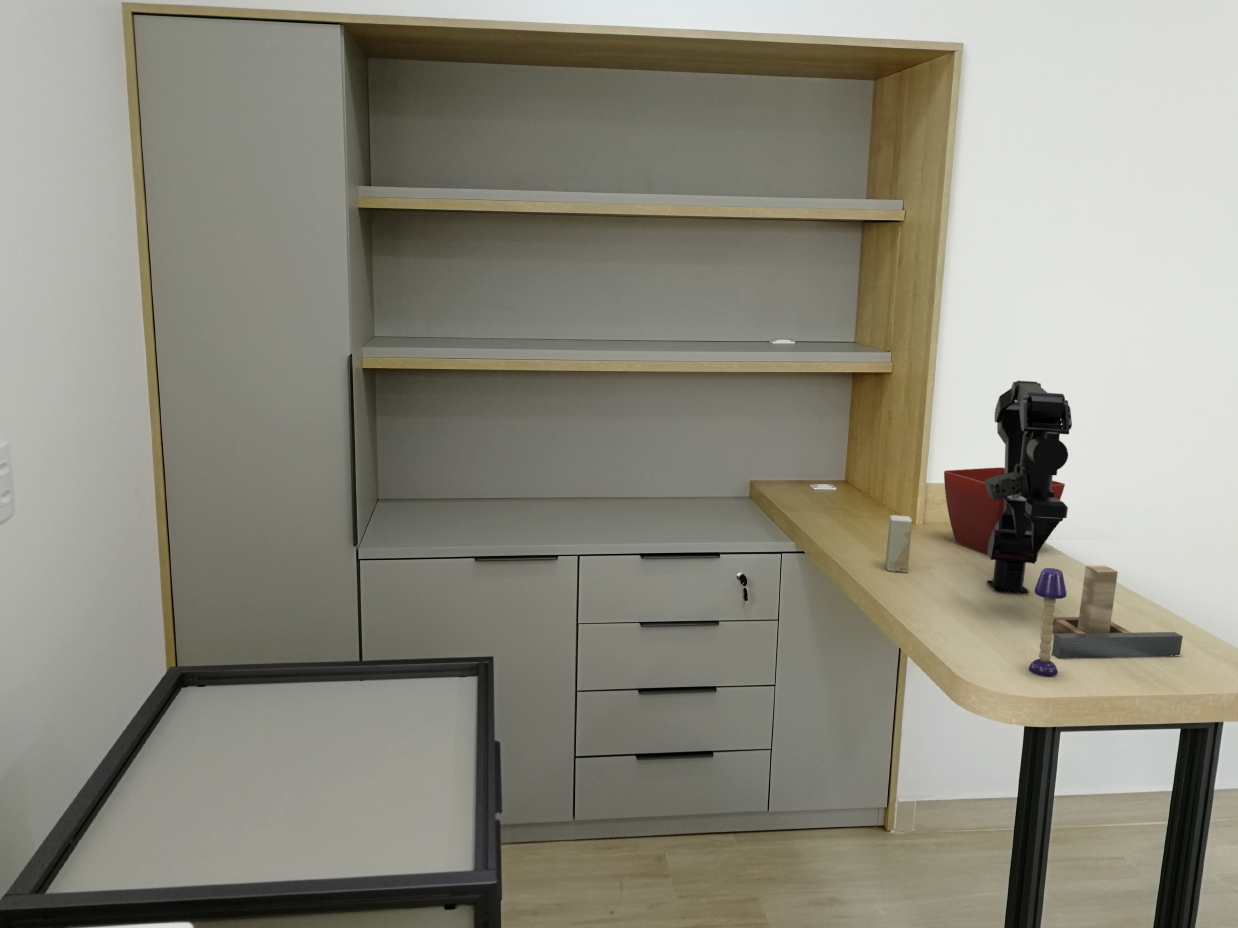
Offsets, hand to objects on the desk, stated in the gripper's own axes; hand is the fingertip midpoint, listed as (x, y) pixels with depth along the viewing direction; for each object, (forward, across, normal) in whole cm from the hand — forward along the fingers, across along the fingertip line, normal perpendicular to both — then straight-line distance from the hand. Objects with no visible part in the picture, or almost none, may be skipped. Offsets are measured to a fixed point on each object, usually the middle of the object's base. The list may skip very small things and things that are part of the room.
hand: (1027, 544), depth 190 cm
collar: (+13, +14, +8) cm, 21 cm away
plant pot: (+13, -46, +9) cm, 49 cm away
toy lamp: (+13, +30, -6) cm, 33 cm away
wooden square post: (+13, +14, +8) cm, 21 cm away
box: (+13, -24, -18) cm, 33 cm away
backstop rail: (+13, +21, +9) cm, 26 cm away
